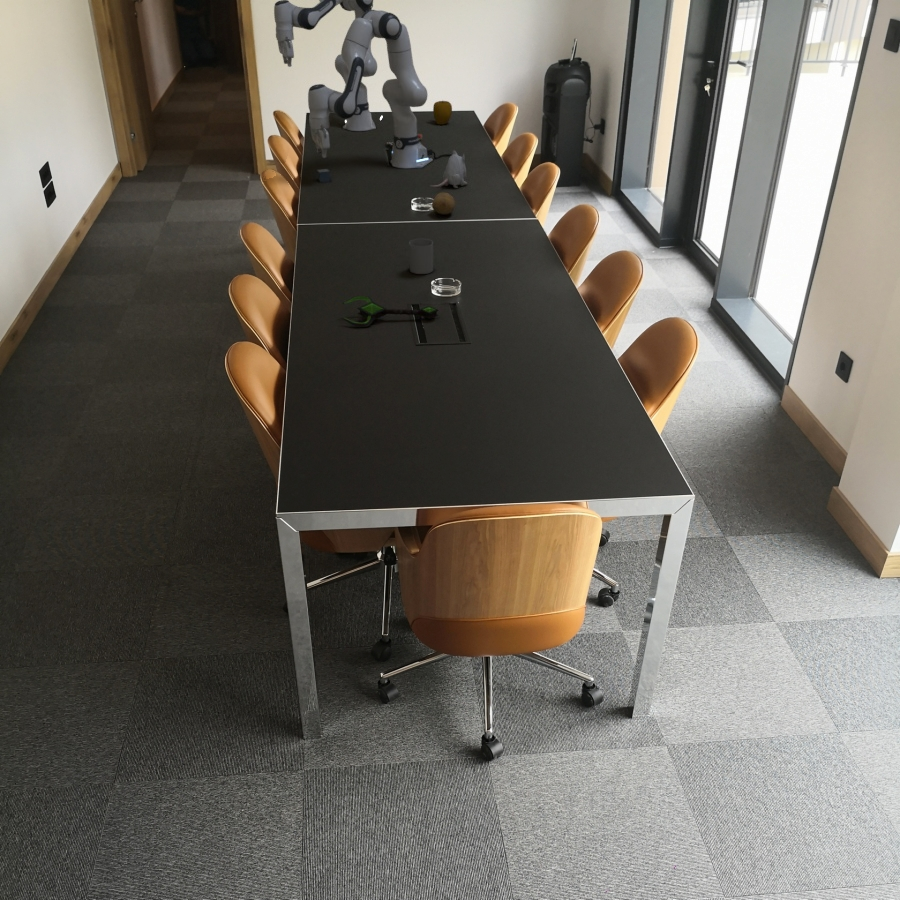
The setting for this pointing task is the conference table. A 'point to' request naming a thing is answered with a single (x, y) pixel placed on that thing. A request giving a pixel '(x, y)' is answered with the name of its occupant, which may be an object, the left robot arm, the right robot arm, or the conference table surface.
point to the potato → (443, 203)
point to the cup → (421, 256)
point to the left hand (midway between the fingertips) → (287, 65)
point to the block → (323, 175)
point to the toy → (454, 171)
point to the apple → (442, 112)
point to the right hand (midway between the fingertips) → (321, 155)
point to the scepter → (384, 311)
